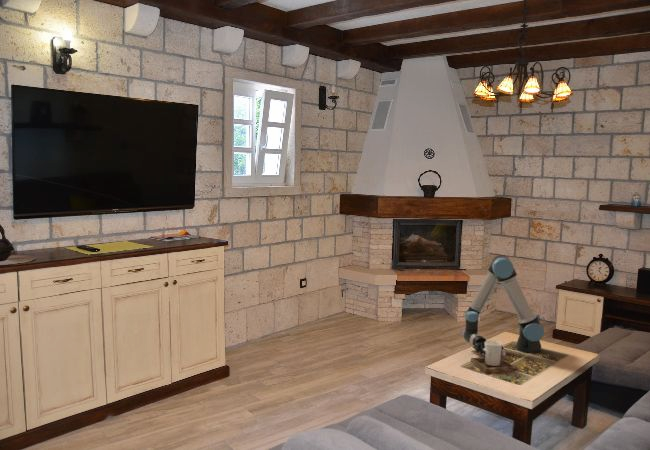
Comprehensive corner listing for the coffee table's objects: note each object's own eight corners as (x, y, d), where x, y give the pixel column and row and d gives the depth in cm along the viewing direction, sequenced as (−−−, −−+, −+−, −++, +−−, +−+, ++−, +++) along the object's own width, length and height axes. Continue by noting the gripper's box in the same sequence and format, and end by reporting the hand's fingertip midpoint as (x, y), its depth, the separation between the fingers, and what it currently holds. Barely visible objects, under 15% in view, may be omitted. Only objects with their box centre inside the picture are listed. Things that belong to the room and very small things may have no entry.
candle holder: (498, 367, 295) (498, 347, 294) (481, 363, 301) (481, 343, 300) (503, 362, 303) (504, 342, 302) (487, 359, 309) (487, 339, 308)
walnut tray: (499, 360, 313) (499, 356, 313) (515, 371, 295) (515, 367, 295) (470, 362, 310) (470, 357, 309) (485, 373, 292) (485, 369, 292)
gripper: (494, 346, 322) (514, 359, 299) (461, 348, 318) (478, 361, 296) (495, 334, 321) (514, 346, 299) (461, 336, 317) (479, 348, 295)
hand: (496, 354), depth 297 cm, fingers closed on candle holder, 9 cm apart
